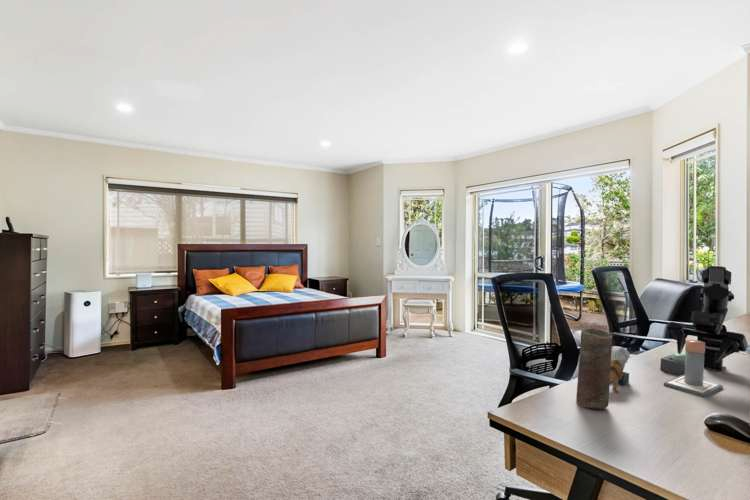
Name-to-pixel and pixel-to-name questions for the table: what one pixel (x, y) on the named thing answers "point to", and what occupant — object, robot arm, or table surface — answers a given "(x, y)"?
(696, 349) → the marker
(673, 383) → the board
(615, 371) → the lion figurine
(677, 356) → the button
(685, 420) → the table surface
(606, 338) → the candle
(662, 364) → the button housing
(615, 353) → the watch
